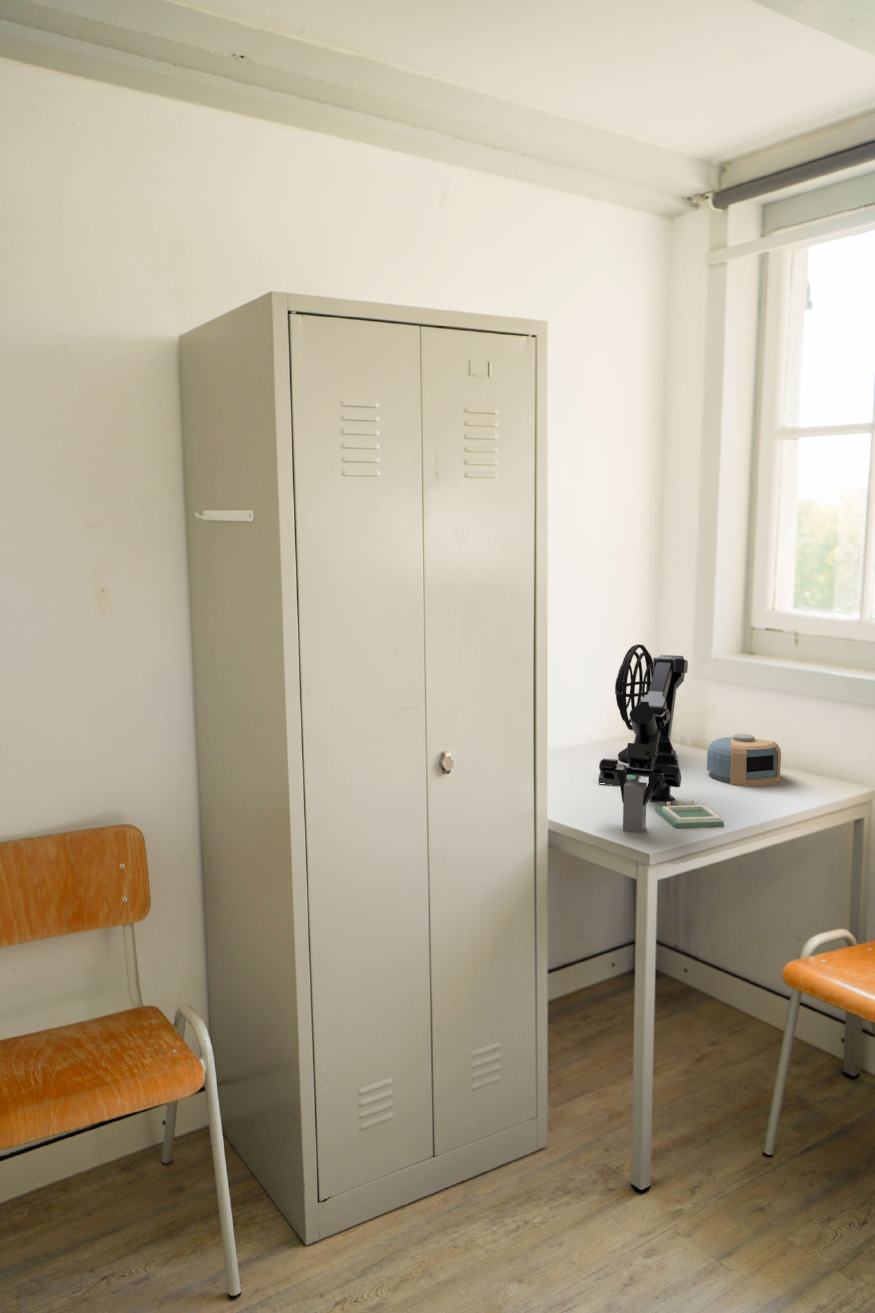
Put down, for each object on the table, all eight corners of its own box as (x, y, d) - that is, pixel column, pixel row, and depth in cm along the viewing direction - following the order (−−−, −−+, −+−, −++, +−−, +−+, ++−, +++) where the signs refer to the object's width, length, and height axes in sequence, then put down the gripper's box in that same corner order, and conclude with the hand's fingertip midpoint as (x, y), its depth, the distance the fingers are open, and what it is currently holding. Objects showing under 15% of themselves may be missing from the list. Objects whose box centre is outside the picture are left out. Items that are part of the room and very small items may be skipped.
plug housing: (626, 825, 227) (627, 780, 226) (645, 828, 225) (646, 782, 224) (622, 830, 223) (623, 784, 222) (641, 833, 222) (643, 787, 220)
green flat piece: (654, 810, 239) (655, 800, 239) (700, 808, 241) (701, 799, 240) (675, 827, 226) (675, 817, 225) (723, 825, 227) (724, 815, 227)
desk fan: (629, 745, 311) (632, 639, 307) (683, 751, 303) (687, 642, 298) (603, 763, 288) (605, 648, 283) (660, 770, 279) (664, 651, 275)
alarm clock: (734, 789, 260) (736, 745, 258) (693, 771, 278) (694, 730, 277) (793, 783, 266) (795, 740, 264) (748, 766, 284) (750, 726, 283)
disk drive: (602, 773, 278) (598, 786, 264) (602, 764, 278) (598, 776, 264) (638, 775, 276) (636, 788, 261) (638, 766, 275) (636, 778, 261)
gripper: (601, 725, 229) (588, 781, 220) (680, 732, 221) (670, 790, 212) (609, 750, 237) (596, 805, 228) (685, 758, 229) (675, 815, 221)
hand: (633, 803), depth 222 cm, fingers closed on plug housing, 4 cm apart
